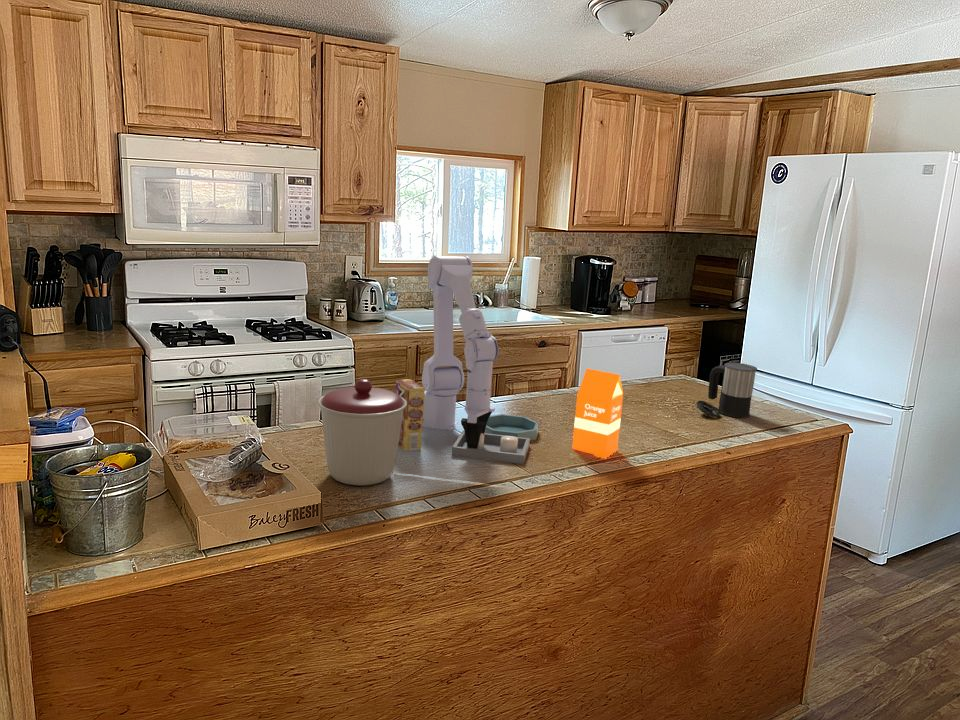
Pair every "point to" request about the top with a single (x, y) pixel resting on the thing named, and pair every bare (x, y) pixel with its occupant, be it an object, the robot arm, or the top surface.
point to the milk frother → (730, 390)
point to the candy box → (411, 414)
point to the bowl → (512, 426)
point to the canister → (361, 432)
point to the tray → (491, 449)
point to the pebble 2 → (509, 444)
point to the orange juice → (598, 413)
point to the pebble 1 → (481, 442)
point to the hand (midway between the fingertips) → (475, 443)
